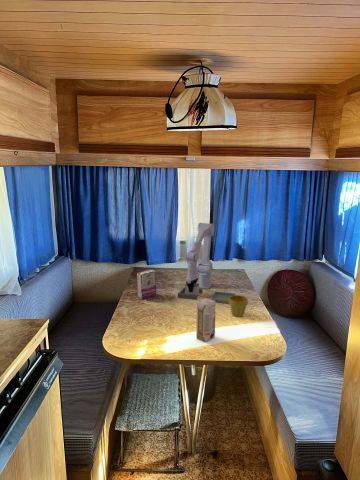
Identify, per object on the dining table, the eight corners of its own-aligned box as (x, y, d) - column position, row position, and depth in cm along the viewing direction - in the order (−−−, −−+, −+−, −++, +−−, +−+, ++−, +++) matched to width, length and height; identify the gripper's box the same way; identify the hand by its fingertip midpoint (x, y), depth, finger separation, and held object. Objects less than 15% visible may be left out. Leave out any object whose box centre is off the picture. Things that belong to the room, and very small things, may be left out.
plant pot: (245, 319, 199) (246, 302, 197) (226, 317, 202) (227, 300, 200) (248, 312, 209) (249, 296, 207) (230, 310, 212) (230, 294, 210)
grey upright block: (187, 291, 238) (187, 282, 237) (199, 292, 236) (199, 283, 235) (184, 293, 234) (185, 284, 233) (197, 295, 232) (197, 286, 230)
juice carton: (217, 337, 179) (217, 300, 175) (206, 343, 172) (206, 305, 168) (204, 332, 184) (205, 296, 180) (193, 338, 177) (194, 301, 173)
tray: (214, 294, 237) (214, 291, 237) (235, 296, 233) (235, 293, 233) (209, 301, 225) (209, 298, 224) (231, 304, 221) (231, 301, 220)
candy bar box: (151, 293, 239) (151, 269, 235) (156, 295, 235) (156, 270, 232) (137, 297, 232) (136, 272, 229) (141, 299, 228) (141, 274, 225)
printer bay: (184, 290, 244) (184, 287, 243) (202, 292, 240) (202, 289, 239) (177, 297, 232) (177, 293, 231) (197, 299, 228) (197, 296, 227)
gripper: (189, 266, 240) (189, 286, 243) (182, 273, 226) (182, 293, 229) (200, 267, 238) (199, 287, 240) (193, 274, 224) (193, 295, 227)
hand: (192, 290), depth 235 cm, fingers closed on grey upright block, 4 cm apart
